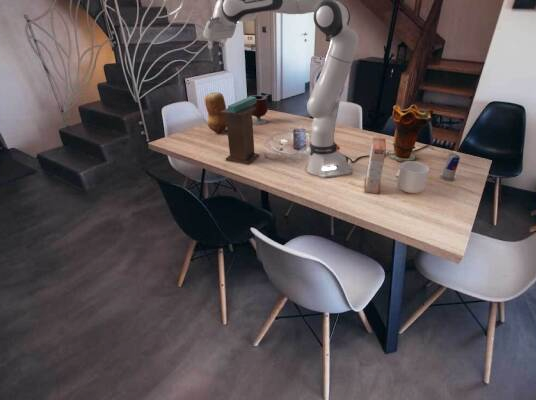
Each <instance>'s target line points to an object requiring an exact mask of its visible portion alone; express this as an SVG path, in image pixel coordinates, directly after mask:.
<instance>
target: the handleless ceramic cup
mask: <svg viewBox="0 0 536 400" xmlns="http://www.w3.org/2000/svg"><path fill="white" fill-rule="evenodd" d="M429 172H430V167H429V166H428V165H426V164H425V163H423V162H419V161H415V160H414V161H406V162H404V161H402V163H400V167H399V172H398V176H397V180H396V181H397V182H396V184H397V187H398V189H400V190H401V191H403V192H405V193H408V194H418V193H420V192H422V191H423V190H424V189H425V186H426V183H427V179H428V175H429Z"/></svg>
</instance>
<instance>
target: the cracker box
mask: <svg viewBox="0 0 536 400" xmlns="http://www.w3.org/2000/svg"><path fill="white" fill-rule="evenodd" d="M386 152H387V143H386V138H384V137H372V141H371V146H370V152H369V155H370V157H369V160H368V166H367V172H366V178H365V180H366V181H365V193H371V194H379V193H380V192H379V191H380V186H381V181H382V175H383V169H384V164H385V158H386V155H385V154H386Z"/></svg>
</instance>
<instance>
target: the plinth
mask: <svg viewBox="0 0 536 400" xmlns="http://www.w3.org/2000/svg"><path fill="white" fill-rule="evenodd" d="M254 110H256V107H247V108H245V109H242V110H240V111H238V112H236V113H230V112H228V107H226V109H225V110H223V111H220V113H221V114H226V123H227V128H226V131H227V140H228V150H229V155H228V156H227V157H225V160H226V161H227V162H231V163H237V164H242V165H249V164H251V163H252V162H253V161H255V160H256V159H257V158H259V155H260V154H259V153H257V152H255V142H254V141H255V140H254V126H253V125H254V124H253V122H252V119H253V115H252V111H254Z"/></svg>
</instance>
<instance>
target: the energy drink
mask: <svg viewBox="0 0 536 400" xmlns="http://www.w3.org/2000/svg"><path fill="white" fill-rule="evenodd" d="M460 159H461V156H460V155H459V154H458V153H453V152H451V153H448V155H447V157H446V161H445V164H444V167H443V171H442V174H441V178H442V179H443V180H444V181H445V180H446V181H453V180H454V178H455V175H456V172H457V168H458V165H459V162H460Z"/></svg>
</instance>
